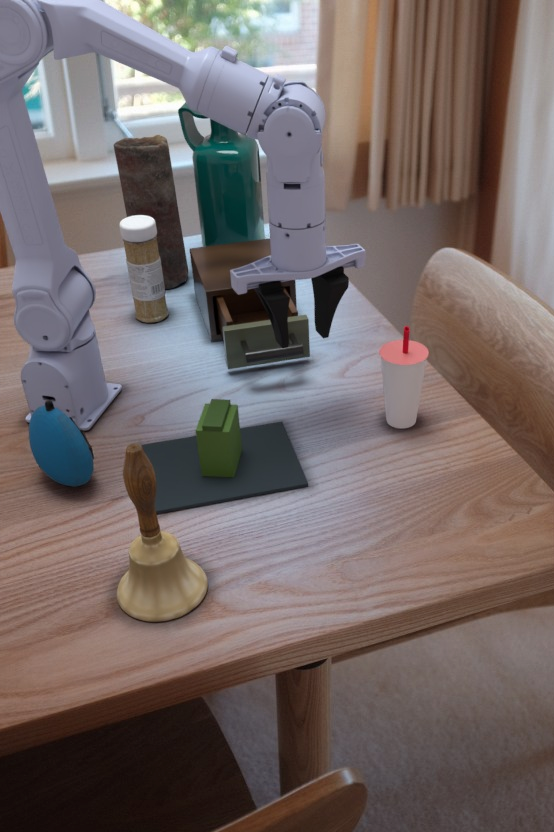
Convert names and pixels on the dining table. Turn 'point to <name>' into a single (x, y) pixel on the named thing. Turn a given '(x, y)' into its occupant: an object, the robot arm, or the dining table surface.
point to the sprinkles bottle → (144, 267)
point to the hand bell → (155, 555)
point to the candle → (154, 198)
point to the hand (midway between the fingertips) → (302, 338)
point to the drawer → (257, 331)
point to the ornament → (60, 446)
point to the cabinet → (225, 275)
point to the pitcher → (225, 182)
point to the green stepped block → (219, 439)
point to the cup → (402, 379)
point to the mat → (255, 475)
